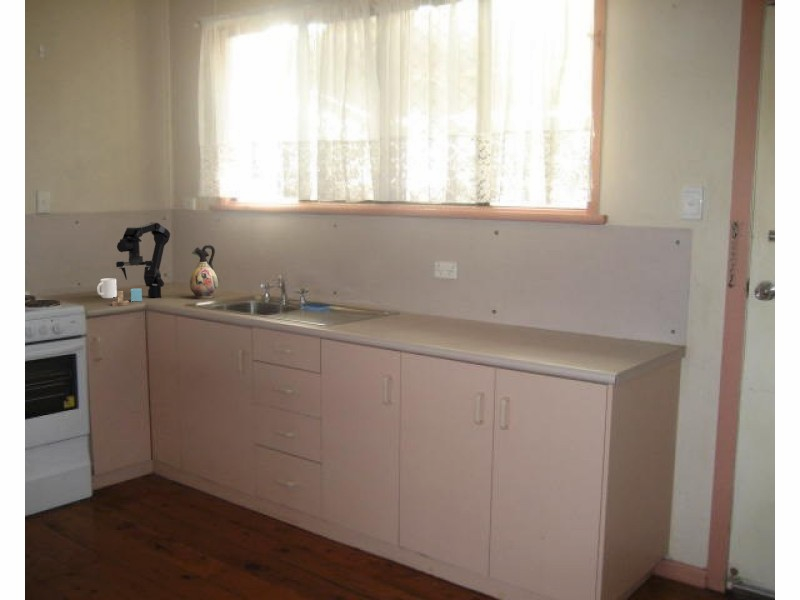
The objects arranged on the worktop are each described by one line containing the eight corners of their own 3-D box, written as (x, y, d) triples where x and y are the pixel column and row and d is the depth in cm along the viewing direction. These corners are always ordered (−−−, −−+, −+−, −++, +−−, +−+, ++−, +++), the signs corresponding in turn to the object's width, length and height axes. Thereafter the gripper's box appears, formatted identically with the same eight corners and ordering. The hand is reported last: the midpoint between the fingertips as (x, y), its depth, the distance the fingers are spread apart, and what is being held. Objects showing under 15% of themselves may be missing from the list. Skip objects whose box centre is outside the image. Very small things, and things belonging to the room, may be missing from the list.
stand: (128, 303, 426) (128, 290, 425) (128, 305, 419) (128, 292, 418) (112, 303, 424) (112, 290, 423) (112, 306, 416) (111, 292, 415)
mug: (102, 299, 440) (101, 280, 438) (92, 298, 444) (91, 280, 442) (120, 297, 450) (119, 278, 448) (110, 295, 454) (109, 277, 453)
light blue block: (142, 300, 438) (141, 288, 437) (142, 301, 432) (141, 289, 431) (131, 300, 436) (130, 288, 435) (131, 302, 431) (130, 289, 430)
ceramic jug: (191, 300, 438) (189, 245, 434) (189, 296, 453) (187, 243, 449) (222, 299, 444) (221, 245, 440) (219, 295, 458) (218, 243, 454)
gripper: (115, 252, 420) (116, 281, 422) (152, 251, 425) (153, 280, 427) (115, 250, 430) (117, 279, 432) (152, 249, 436) (153, 278, 438)
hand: (135, 279), depth 432 cm, fingers open, 9 cm apart
